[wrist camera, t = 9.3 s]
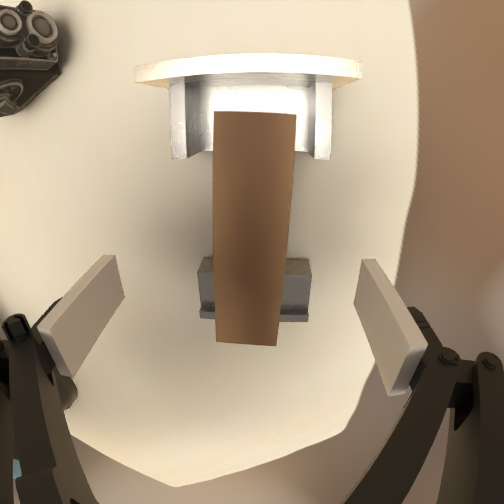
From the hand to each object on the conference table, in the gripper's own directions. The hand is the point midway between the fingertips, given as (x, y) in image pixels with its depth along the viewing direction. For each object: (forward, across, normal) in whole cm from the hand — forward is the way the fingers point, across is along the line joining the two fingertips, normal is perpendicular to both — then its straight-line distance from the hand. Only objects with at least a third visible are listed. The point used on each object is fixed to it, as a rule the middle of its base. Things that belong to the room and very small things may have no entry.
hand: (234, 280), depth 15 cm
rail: (+10, +1, 0) cm, 10 cm away
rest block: (+13, +1, -7) cm, 15 cm away
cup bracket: (+12, +1, +8) cm, 15 cm away
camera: (+13, -22, +18) cm, 31 cm away
